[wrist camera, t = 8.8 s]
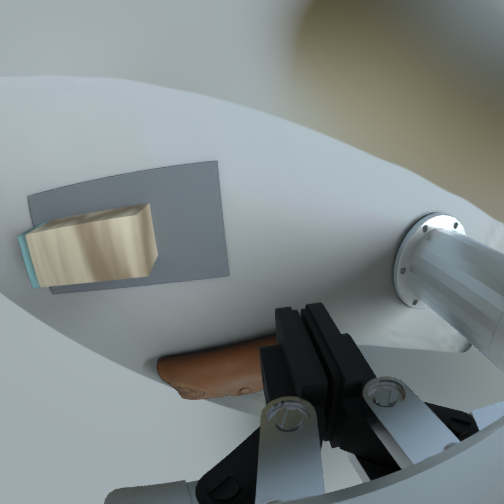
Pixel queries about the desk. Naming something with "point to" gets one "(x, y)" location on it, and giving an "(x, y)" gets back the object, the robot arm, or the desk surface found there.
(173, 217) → the charcoal mat
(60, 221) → the wooden block
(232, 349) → the sunglasses case
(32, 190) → the desk surface
